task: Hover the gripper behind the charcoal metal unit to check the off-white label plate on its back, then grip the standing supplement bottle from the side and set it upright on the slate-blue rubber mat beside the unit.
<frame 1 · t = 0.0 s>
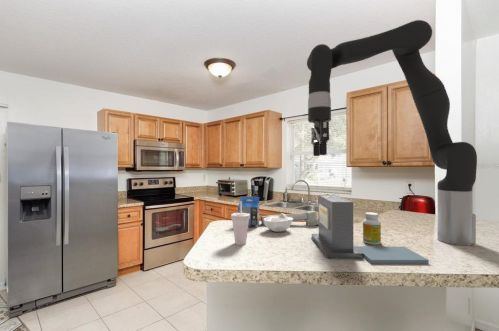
hand: (319, 155, 87), 29 cm above the counter, tool pointing down, fingers open, 8 cm apart
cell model: (278, 231, 102), on the counter
grey knobbed handle: (289, 225, 112), on the counter
label tape box: (248, 226, 110), on the counter
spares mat: (388, 256, 73), on the counter
smoothie: (240, 243, 86), on the counter
supplement bottle: (371, 242, 86), on the counter
mounted unit: (334, 247, 81), on the counter
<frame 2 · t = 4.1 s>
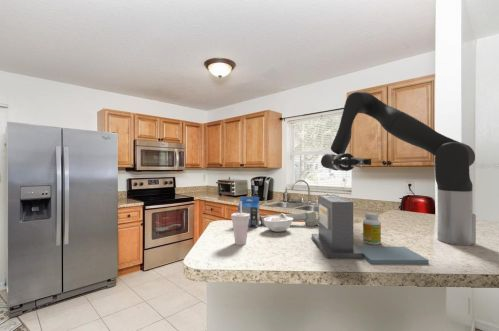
hand: (358, 162, 97), 27 cm above the counter, tool horizontal, fingers open, 8 cm apart
nothing on the counter moved.
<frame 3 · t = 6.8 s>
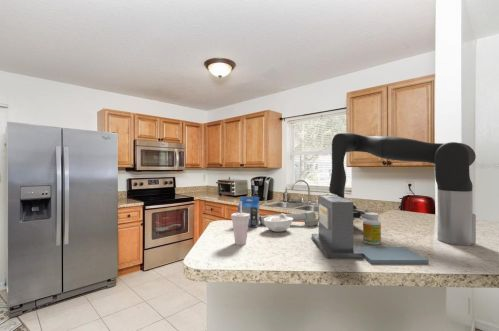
hand: (360, 218, 95), 6 cm above the counter, tool horizontal, fingers open, 8 cm apart
nothing on the counter moved.
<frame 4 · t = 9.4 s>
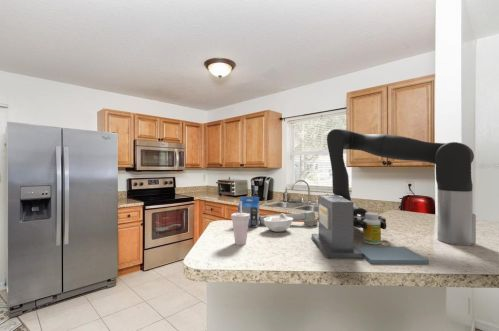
hand: (375, 226, 84), 6 cm above the counter, tool horizontal, fingers closed on supplement bottle, 5 cm apart
supplement bottle: (371, 242, 86), on the counter, touching gripper
everything else where it was.
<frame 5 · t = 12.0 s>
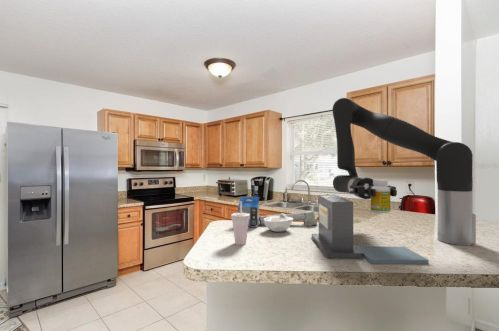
hand: (384, 192, 76), 18 cm above the counter, tool horizontal, fingers closed on supplement bottle, 5 cm apart
supplement bottle: (380, 212, 79), point 12 cm above the counter, touching gripper
everything else where it was.
when the fingers open (8 cm above the counter, at t = 14.8 s): supplement bottle drops 1 cm, resting on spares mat.
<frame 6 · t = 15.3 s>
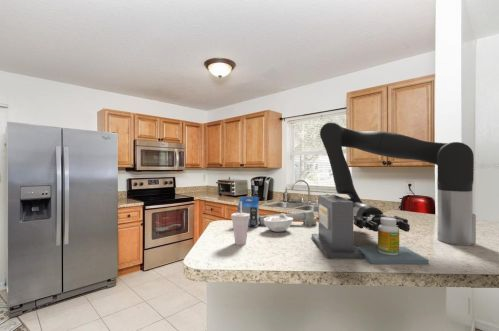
hand: (392, 228, 71), 8 cm above the counter, tool horizontal, fingers open, 8 cm apart
supplement bottle: (388, 253, 73), point 1 cm above the counter, touching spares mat
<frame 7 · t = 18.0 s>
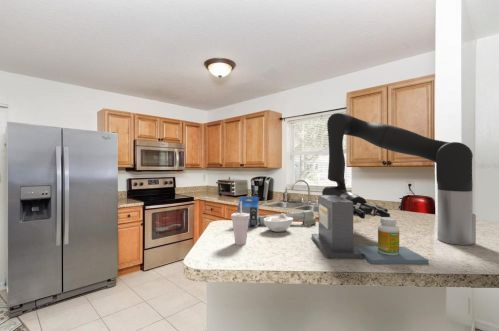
hand: (376, 216, 84), 9 cm above the counter, tool horizontal, fingers open, 8 cm apart
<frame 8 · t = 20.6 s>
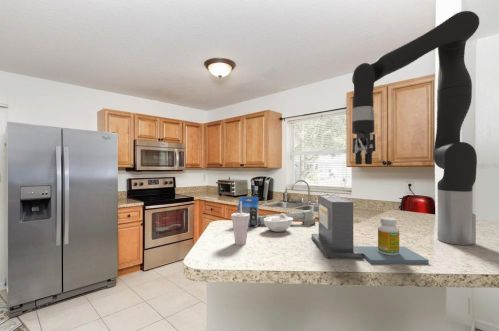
hand: (363, 164, 95), 26 cm above the counter, tool pointing down, fingers open, 8 cm apart
at the end: supplement bottle inside the target area on the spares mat (0.1 cm from its centre), point 0.8 cm above the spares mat's base; supplement bottle tilted 0°; the gripper is holding nothing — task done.
